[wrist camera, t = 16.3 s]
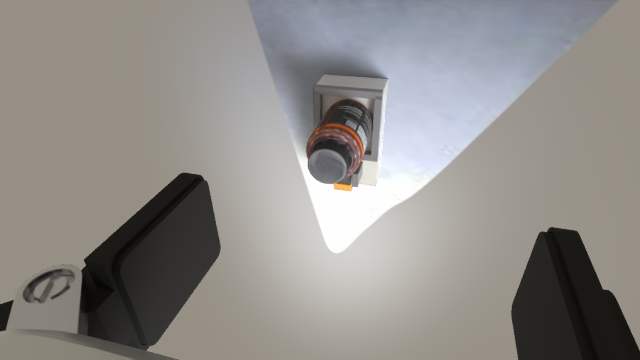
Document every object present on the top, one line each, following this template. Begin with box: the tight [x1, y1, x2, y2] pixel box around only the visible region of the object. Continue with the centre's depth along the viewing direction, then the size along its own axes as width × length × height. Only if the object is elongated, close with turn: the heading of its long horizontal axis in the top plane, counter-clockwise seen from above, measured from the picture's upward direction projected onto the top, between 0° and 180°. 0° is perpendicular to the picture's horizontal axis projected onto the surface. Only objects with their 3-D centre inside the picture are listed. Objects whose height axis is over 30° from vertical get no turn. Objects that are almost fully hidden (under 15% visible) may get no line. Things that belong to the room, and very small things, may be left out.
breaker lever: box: [334, 174, 352, 191], centre depth 48 cm, size 5×2×1 cm, turn 1°
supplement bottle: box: [306, 100, 373, 184], centre depth 42 cm, size 6×6×11 cm
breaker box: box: [313, 74, 388, 187], centre depth 49 cm, size 13×8×7 cm, turn 0°
